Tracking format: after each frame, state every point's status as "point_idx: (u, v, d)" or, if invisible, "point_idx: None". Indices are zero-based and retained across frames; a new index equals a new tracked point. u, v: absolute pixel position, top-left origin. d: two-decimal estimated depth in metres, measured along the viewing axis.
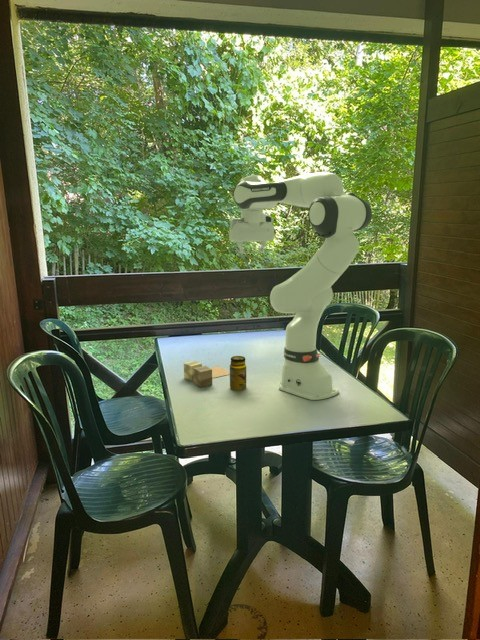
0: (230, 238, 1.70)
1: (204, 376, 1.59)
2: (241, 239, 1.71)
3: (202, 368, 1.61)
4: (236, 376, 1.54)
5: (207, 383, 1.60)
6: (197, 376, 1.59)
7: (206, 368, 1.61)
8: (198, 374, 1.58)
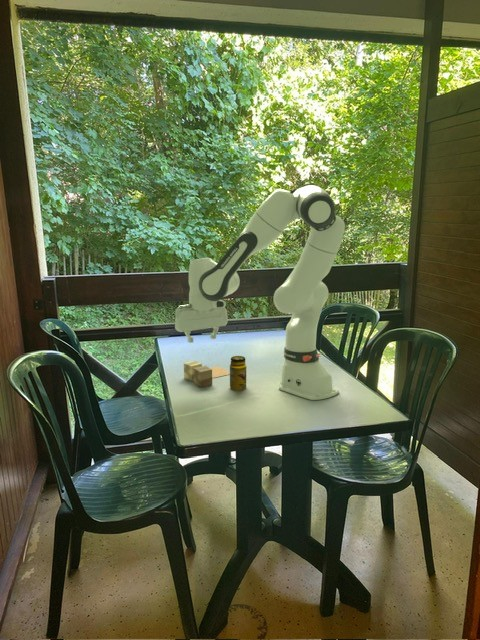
0: (176, 327, 1.52)
1: (204, 376, 1.59)
2: (188, 328, 1.52)
3: (202, 368, 1.61)
4: (236, 376, 1.54)
5: (207, 383, 1.60)
6: (197, 376, 1.59)
7: (206, 368, 1.61)
8: (198, 374, 1.58)
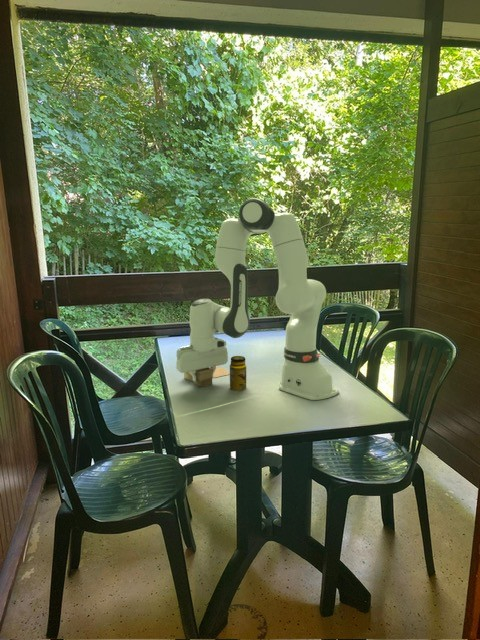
0: (177, 368, 1.55)
1: (204, 376, 1.59)
2: (189, 369, 1.55)
3: None
4: (236, 376, 1.54)
5: (207, 383, 1.60)
6: None
7: (206, 368, 1.61)
8: (198, 374, 1.58)
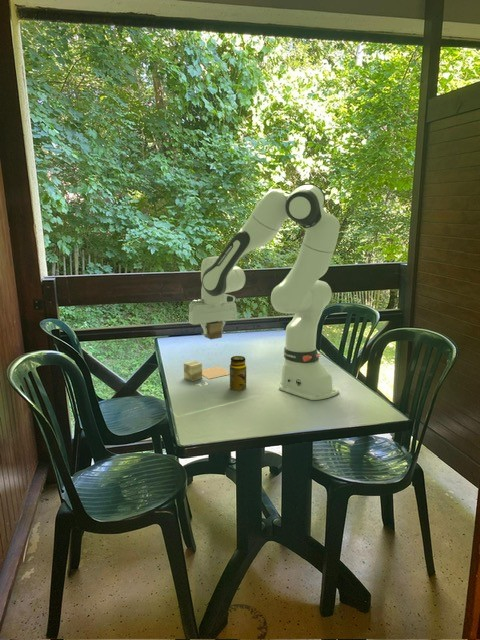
0: (189, 320, 1.65)
1: (214, 329, 1.68)
2: (201, 321, 1.65)
3: (212, 322, 1.71)
4: (236, 376, 1.54)
5: (217, 336, 1.70)
6: (208, 328, 1.69)
7: None
8: (209, 327, 1.68)
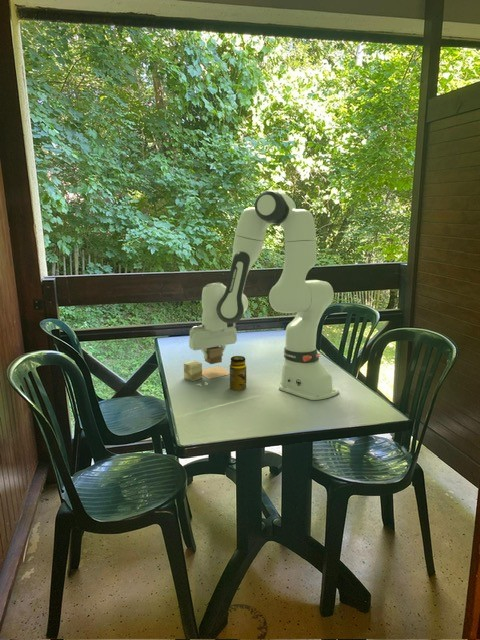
0: (190, 346, 1.68)
1: (214, 354, 1.71)
2: (201, 347, 1.68)
3: None
4: (236, 376, 1.54)
5: (217, 360, 1.72)
6: (208, 353, 1.72)
7: None
8: (209, 352, 1.71)
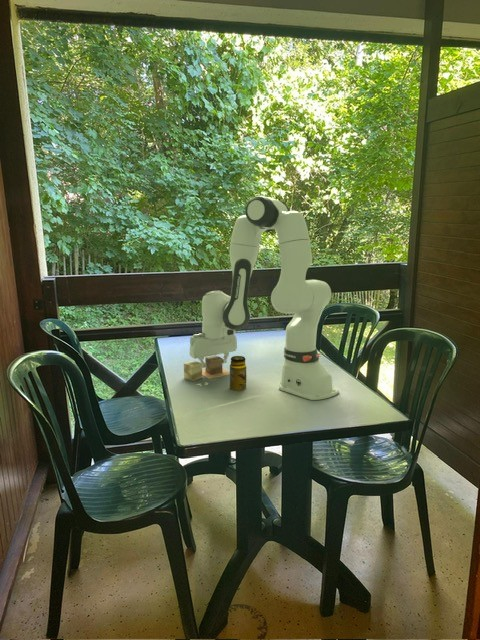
0: (190, 354, 1.68)
1: (215, 364, 1.71)
2: (202, 355, 1.68)
3: (213, 357, 1.74)
4: (236, 376, 1.54)
5: (218, 371, 1.73)
6: (209, 364, 1.72)
7: (216, 357, 1.74)
8: (210, 363, 1.71)
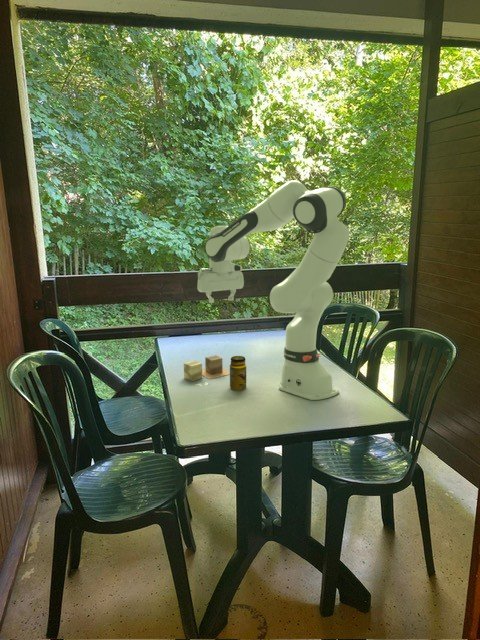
0: (198, 288, 1.69)
1: (215, 364, 1.71)
2: (209, 289, 1.69)
3: (213, 357, 1.74)
4: (236, 376, 1.54)
5: (218, 371, 1.73)
6: (209, 364, 1.72)
7: (216, 357, 1.74)
8: (210, 363, 1.71)
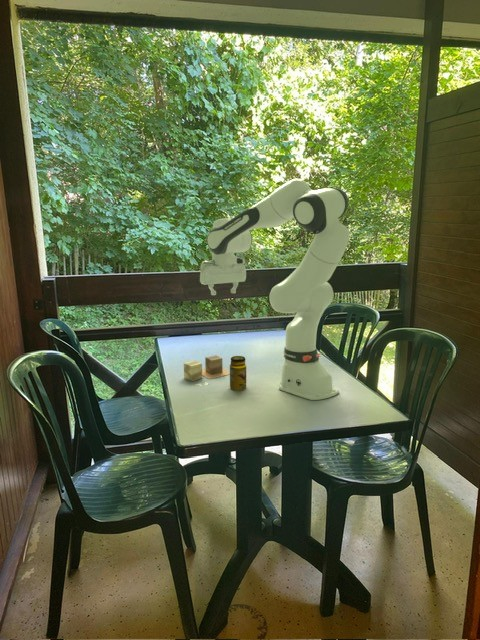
0: (201, 281, 1.70)
1: (215, 364, 1.71)
2: (212, 282, 1.71)
3: (213, 357, 1.74)
4: (236, 376, 1.54)
5: (218, 371, 1.73)
6: (209, 364, 1.72)
7: (216, 357, 1.74)
8: (210, 363, 1.71)
